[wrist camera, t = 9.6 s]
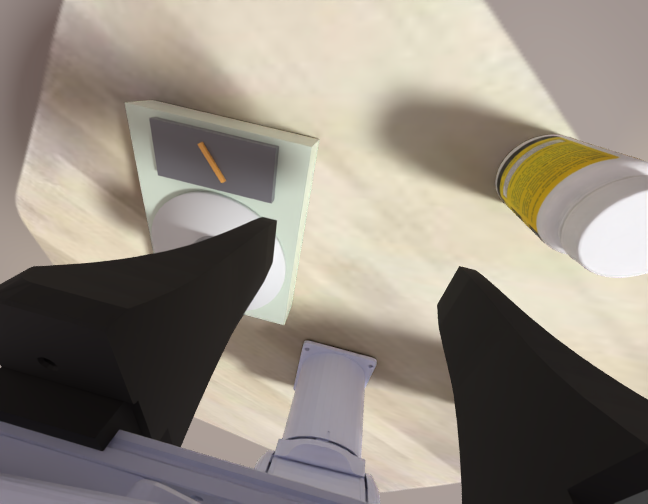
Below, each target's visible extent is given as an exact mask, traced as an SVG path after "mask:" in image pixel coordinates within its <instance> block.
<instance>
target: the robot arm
mask: <svg viewBox="0 0 648 504" xmlns="http://www.w3.org/2000/svg"><path fill="white" fill-rule="evenodd" d="M276 227H277V220H274V219H270V218H266V217H260V218H257V219H255V220H252V221H250V222H248V223H246V224H243V225H241V226H239V227H236V228H234V229H232V230H229V231H227V232H224V233H222V234H219V235H216V236H214V237H211V238H208V239H206V240H203V241H200V242H197V243H194V244H191V245H187V246H183V247H180V248H176V249H172V250H168V251H163V252H158V253H153V254H148V255H143V256H138V257H132V258H125V259H119V260H111V261H102V262H93V263H82V264H67V265H53V266H34V267H31V268H29V269H27V270H25V271H23V272H21V273H20V274H18V275H16V276H15V277H13V278H11V279H9V280H7V281H5V282H4V283H2V284H0V365H1V366H2V367H1V368H0V504H380V496H379V489H378V487H377V485H376V483H375V481H374V479H373V477H372V475H370V474H366V473H365V459H362V458H361V451H362V432H363V412H364V392H365V387H366V385H367V383H368V381H369V379H370V377H371V375H372V373H373V371H374V369H375V367H376V365H377V360H376V359H375V358H372V357H368V356H365V355H361V354H357V353H353V352H350V351H346V350H342V349H338V348H335V347H331V346H327V345H324V344H320V343H316V342H312V341H308V340H307V341H304V344H303V348H302V352H301V357H300V361H299V366H298V370H297V374H296V379H295V383H294V390H295V393H294V397H293V401H292V404H291V408H290V412H289V416H288V419H287V423H286V427H285V430H284V434H283V438H282V439H279V440H278V443H277V447H276V450H275V451H273V450H268V451H266V453H265V454H263V455H262V456H261V457H260V458H259V460H258V461H257V463H256V466H255V468H254V469H253V468H250V467H246V466H243V465H239V464H236V463H233V462H229V461H226V460H222V459H219V458H215V457H212V456H209V455H205V454H202V453H198V452H195V451H191V450H188V449H185V448H181V445H182V443H183V440H184V438H185V435H186V433H187V431H188V428H189V426H190V423H191V421H192V419H193V417H194V414H195V412H196V410H197V407H198V405H199V403H200V401H201V398H202V396H203V394H204V392H205V389H206V387H207V385H208V383H209V381H210V378H211V376H212V374H213V372H214V370H215V368H216V366H217V363H218V361H219V359H220V357H221V355H222V353H223V351H224V349H225V347H226V345H227V343H228V341H229V339H230V337H231V335H232V333H233V331H234V329H235V328H236V326H237V324H238V323H239V321H240V319H241V318H242V316H243V315H244V313H245V312H246V310H247V308H248V307H249V305H250V304H251V302H252V301H253V299H254V297H255V296H256V294H257V293H258V291H259V289H260V288H261V286H262V285H263V283H264V281H265V279H266V277H267V275H268V272H269V270H270V268H271V266H272V263H273V257H274V247H275V237H276ZM437 309H438V324H439V331H440V335H441V340H442V344H443V349H444V353H445V357H446V361H447V366H448V370H449V374H450V378H451V383H452V388H453V393H454V401H455V409H456V418H457V427H458V438H459V450H460V466H461V483H462V504H648V400H647V399H646V398H644V397H642V396H641V395H639V394H637V393H636V392H634V391H632V390H631V389H629V388H628V387H626V386H624V385H623V384H621V383H620V382H618V381H617V380H615V379H614V378H612V377H610V376H609V375H607V374H606V373H604V372H603V371H601V370H600V369H598V368H597V367H595V366H594V365H592V364H591V363H589V362H588V361H586V360H585V359H583V358H582V357H581V356H579V355H578V354H577V353H575V352H574V351H572V350H571V349H570V348H568V347H567V346H566V345H564V344H563V343H561V342H560V341H559V340H558V339H556V338H555V337H554V336H552V335H551V334H550V333H549V332H547V331H546V330H545V329H544V328H542V327H541V326H540V325H539V324H538V323H536V322H535V321H534V320H533V319H532V318H530V317H529V316H528V315H527V314H526V313H525V312H523V311H522V310H521V309H520V308H519V307H518V306H517V305H515V304H514V303H513V302H512V301H511V300H510V299H509V298H508V297H507V296H505V295H504V294H503V293H502V292H501V291H500V290H499V289H498V288H497V287H495V286H494V285H493V284H492V283H491V282H490V281H489V280H487V279H486V278H485V277H484V276H483V275H481V274H480V273H479V272H477V271H476V270H473V269H469V268H465V267H461V266H459V268H458V270H457V271H456V273H455V275H454V276H453V278H452V280H451V282H450V283H449V285H448V287H447V289H446V290H445V292H444V294H443V296H442V297H441V299H440V301H439V302H438V304H437Z"/></svg>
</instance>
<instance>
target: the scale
mask: <svg viewBox="0 0 648 504" xmlns="http://www.w3.org/2000/svg"><path fill="white" fill-rule="evenodd" d="M124 103H125V109H126V114H127V119H128V124H129V129H130V134H131V140H132V145H133V150H134V155H135V160H136V165H137V171H138V176H139V181H140V186H141V191H142V196H143V202H144V207H145V212H146V217H147V222H148V227H149V233H150V238H151V243H152V248H153V253H158V252H163V251H168V250H172V249H176V248H180V247H183V246H187V245H191V244H193V243H194V242H195V241H196V240H197V239H199V238H201V237H204V236H216V235H219V234H222V233H224V232H227V231H229V230H232V229H234V228H236V227H239V226H241V225H243V224H246V223H248V222H250V221H252V220H255V219H257V218H260V217H266V218H270V219H274V220H277V227H276V237H275V247H274V257H273V263H272V266H271V268H270V270H269V272H268V275H267V277H266V279H265V281H264V283H263V285H262V286H261V288H260V289H259V291H258V293H257V294H256V296H255V297H254V299H253V301H252V302H251V304H250V305H249V307H248V308H247V310H246V312H245V313H244V315H248V316H251V317H255V318H259V319H263V320H266V321H270V322H274V323H278V324H281V325H284V324H285V322H286V319H287V317H288V314H289V312H290V309H291V306H292V300H293V295H294V289H295V283H296V277H297V271H298V265H299V259H300V253H301V247H302V241H303V235H304V229H305V223H306V217H307V211H308V205H309V199H310V193H311V187H312V181H313V175H314V169H315V163H316V157H317V151H318V145H319V139H316V138H312V137H307V136H303V135H299V134H295V133H291V132H286V131H282V130H278V129H274V128H269V127H265V126H261V125H257V124H253V123H248V122H244V121H240V120H236V119H231V118H227V117H223V116H219V115H214V114H210V113H206V112H202V111H198V110H193V109H189V108H185V107H181V106H176V105H172V104H168V103H164V102H160V101H155V100H144V101H134V102H124Z"/></svg>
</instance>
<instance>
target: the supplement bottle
mask: <svg viewBox="0 0 648 504" xmlns="http://www.w3.org/2000/svg"><path fill="white" fill-rule="evenodd" d="M495 185H496V191H497V194H498V196H499V197H500V199H501V200H502V201H503V202H504V203H505V204H506V205H507V206H508V207H509V208H510V209H511V210H512V211H513V212H514V213H515V214H516V215H517V216H518V217H519V218H520V219H521V220H522V221H523V222H524V223H525V224H526V225H527V226H528V227H529V228H530V229H531V230H532V231H533V232H534V233H535V234H536V235H537V236H538V237H539V238H540V239H541V240H542V241H543V242H544V243H545V244H547V245H548V246H549V247H551V248H552V249H554V250H556V251H558V252H561V253H564V254H568V255H569V256H570V257H571V258H572V259H574V260H576V261H577V262H578V263H579V264H581V265H582V266H583V267H584V268H586V269H587V270H589V271H590V272H592V273H595V274H597V275H601V276H606V277H613V278H622V277H632V276H638V275H642V274H646V273H648V162H646V161H644V160H641V159H638V158H635V157H632V156H628V155H625V154H621V153H618V152H614V151H611V150H608V149H605V148H602V147H599V146H595V145H592V144H589V143H586V142H583V141H580V140H577V139H574V138H571V137H567V136H563V135H544V136H539V137H535V138H532V139H530V140H528V141H525V142H524V143H522V144H520V145H519V146H517V147H516V148H515V149H513V150H512V151H511V152H510V153H509V154H508V155H507V156H506V158H505V159H504V160H503V162H502V163H501V165H500V167H499V169H498V172H497V175H496V181H495Z"/></svg>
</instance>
